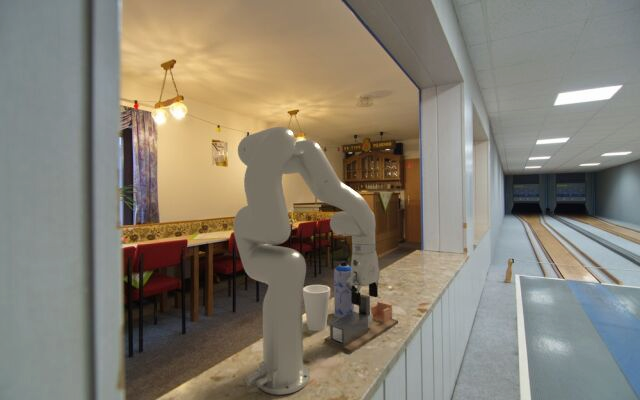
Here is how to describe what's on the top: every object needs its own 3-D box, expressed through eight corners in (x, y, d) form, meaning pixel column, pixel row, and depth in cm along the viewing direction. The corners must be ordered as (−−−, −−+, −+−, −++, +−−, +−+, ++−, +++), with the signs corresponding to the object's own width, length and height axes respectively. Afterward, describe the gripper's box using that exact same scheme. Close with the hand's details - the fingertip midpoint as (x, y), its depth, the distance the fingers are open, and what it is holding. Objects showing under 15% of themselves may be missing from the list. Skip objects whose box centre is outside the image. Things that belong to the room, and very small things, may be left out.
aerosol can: (358, 313, 109) (358, 261, 109) (347, 320, 103) (346, 264, 103) (341, 309, 114) (341, 258, 114) (329, 315, 108) (329, 262, 108)
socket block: (384, 323, 98) (384, 308, 98) (371, 318, 102) (371, 304, 102) (392, 318, 101) (391, 304, 101) (378, 314, 105) (378, 301, 105)
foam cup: (299, 323, 100) (299, 286, 100) (323, 319, 104) (323, 283, 104) (309, 335, 92) (309, 294, 92) (335, 329, 95) (334, 290, 95)
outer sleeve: (344, 347, 82) (343, 328, 82) (330, 340, 86) (329, 322, 86) (368, 332, 91) (367, 315, 91) (354, 327, 94) (354, 311, 94)
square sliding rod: (342, 342, 83) (341, 309, 83) (332, 338, 85) (332, 306, 85) (372, 325, 94) (372, 296, 94) (363, 322, 97) (363, 293, 97)
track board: (350, 353, 80) (350, 349, 80) (324, 341, 87) (324, 338, 87) (398, 323, 100) (398, 320, 100) (373, 315, 107) (373, 313, 107)
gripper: (357, 253, 85) (358, 311, 85) (387, 245, 98) (388, 295, 98) (338, 251, 91) (339, 305, 91) (369, 243, 103) (370, 291, 103)
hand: (365, 300), depth 94 cm, fingers open, 9 cm apart
